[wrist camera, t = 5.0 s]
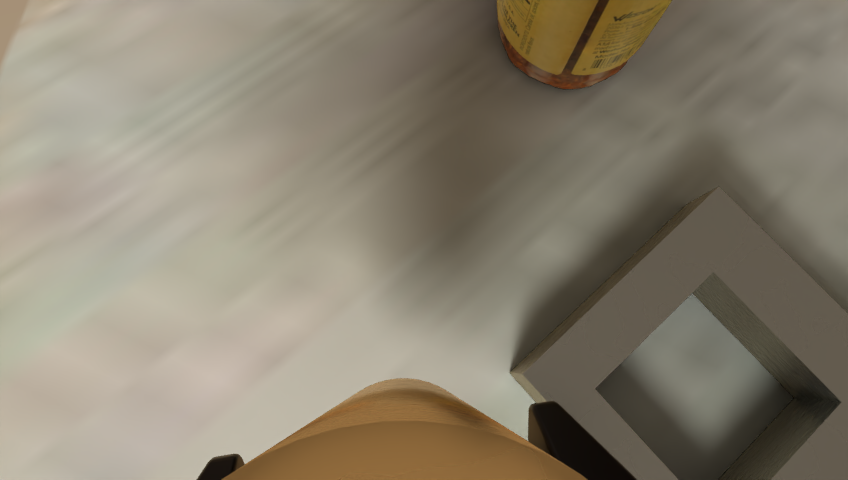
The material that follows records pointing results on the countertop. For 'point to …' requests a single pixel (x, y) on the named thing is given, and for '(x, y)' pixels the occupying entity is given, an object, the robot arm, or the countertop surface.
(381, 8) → the countertop surface
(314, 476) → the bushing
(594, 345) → the plate
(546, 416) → the robot arm
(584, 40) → the sauce bottle
